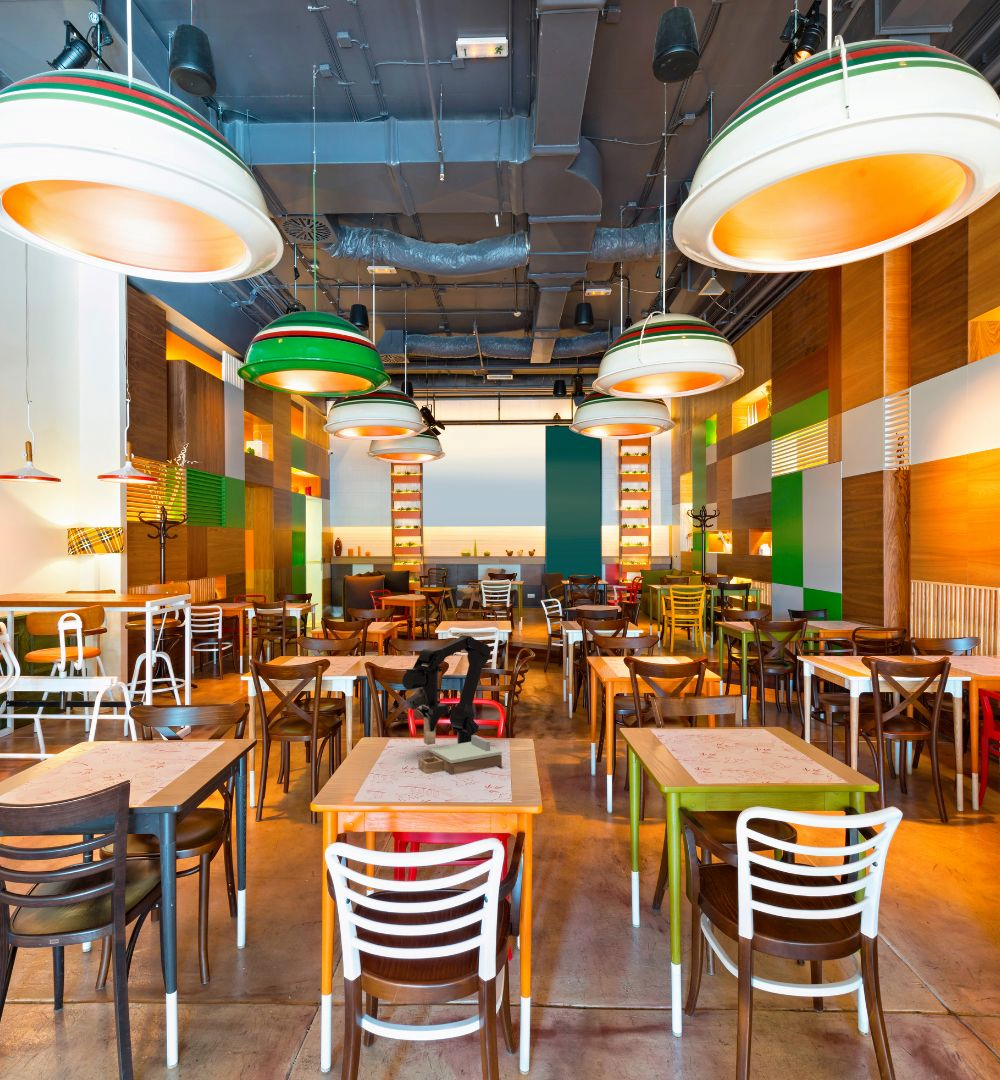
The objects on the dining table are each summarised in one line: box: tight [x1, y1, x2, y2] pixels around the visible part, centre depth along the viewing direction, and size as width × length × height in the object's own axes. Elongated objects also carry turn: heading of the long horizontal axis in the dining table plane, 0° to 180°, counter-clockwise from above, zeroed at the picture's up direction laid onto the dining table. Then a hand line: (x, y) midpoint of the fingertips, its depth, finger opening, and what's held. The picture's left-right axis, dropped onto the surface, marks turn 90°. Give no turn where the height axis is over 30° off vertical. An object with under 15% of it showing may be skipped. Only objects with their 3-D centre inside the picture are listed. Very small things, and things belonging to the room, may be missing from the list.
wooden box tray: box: [417, 752, 503, 776], centre depth 220 cm, size 16×25×4 cm, turn 122°
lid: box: [428, 734, 503, 763], centre depth 221 cm, size 16×19×4 cm
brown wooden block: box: [423, 717, 436, 746], centre depth 231 cm, size 3×3×9 cm
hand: (429, 730), depth 231 cm, fingers closed on brown wooden block, 3 cm apart
